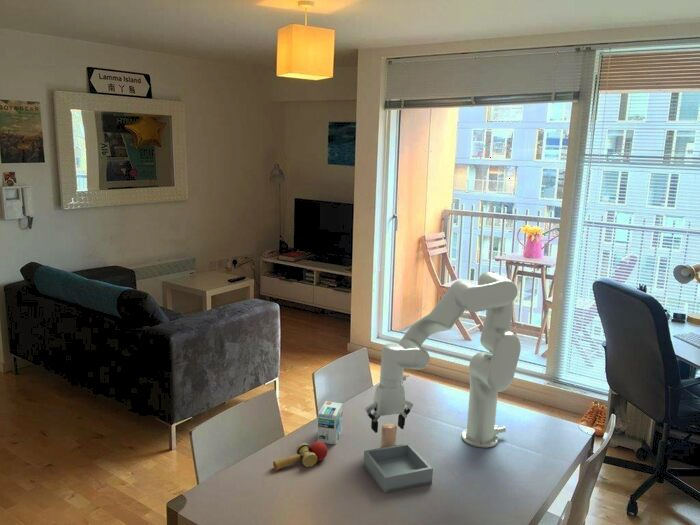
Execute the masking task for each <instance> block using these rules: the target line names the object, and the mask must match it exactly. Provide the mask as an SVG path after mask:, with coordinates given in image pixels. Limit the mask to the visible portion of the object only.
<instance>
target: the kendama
mask: <svg viewBox="0 0 700 525" xmlns="http://www.w3.org/2000/svg"><path fill="white" fill-rule="evenodd" d="M295 450H296V454H293V455H291V456H286V457H283V458H280V459H276V460H273V462H272V463H273V468H274V470H275V469H276V470H277V471H278V470H281V469H284V468H286V467H287V466H289V465H292V464H294V463H297V462H298V461H300V460H301V462H302V464H303V466H305V467H306V468H310V467H309V466H311V467H313V466H315V464H317V462H318V461H319V462H320V461H323V460H324V459H325V458H326V457H327V455H328V446H327V445H326V443H323V442H320V441H318V440H317V441H314V442H312V443H311V444H310V445H309V444H308V443H306V442H303V443H300V444H299V445H298V446H297V447H296V449H295ZM276 470H275V471H276Z"/></svg>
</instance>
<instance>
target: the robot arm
mask: <svg viewBox="0 0 700 525" xmlns="http://www.w3.org/2000/svg"><path fill="white" fill-rule="evenodd" d="M517 296H518V288H517V285H516V283H515V282H513V281H512V280H511V279H509V278H507V277H505V276H502V275H500V274H497V273H495V272H491V271H484V272H483V273H481V274H480V276H479V277H478V280H477V285H475V284H473V283H472V282H469V281H466V280H457V281H454V282H453V283H452V284H451V285H450V286H449V288H448V289H447V291H446V292H445V293H444V294H443V296H442V297H441V299H440V300H439V301H438V302H437V304H436V305H435V306H434V308H433V309H432V310H431V311H430V313H429V314H427V315H425V316H424V317H422V318H420V319H419V320H418V321H417V322H414V324H412V325H411V326H410V328H409V329H408V330H407V331H406V332H405V334H404V335H403V337H402V338H401V339H400V341H399V343H398V344H397V343H387V344H385V345H383V346H382V348H381V358H380V372H379V373H380V375H379V383H377V384H376V387H375V391H374V397H373V403H371V404H370V405H368V406H366V407H365V408H364V410H365V413H366V415H367V416H368V418H370V420H371V422H370V423H371V425H370V427H371V430H372V431H373V432H374V433H375V434H377V433H378V432H379V421H378V420H379V419H380V417H384V416H392V415H398V418H397V426H398V427H399V428H400V430H405V429H404V428H405V424H406V423H405V422H406V418H407V416H408V415H409V414H410V412H411V410H412V408H413V406H414V403H412V402H411V401H409V400H407V399H406V392H405V385H404V381H406V380H407V377H406V376H404V369H410V370H423V369H425V368H426V367H427V366H428V365H429V363H430V361H431V358H430V354H429V352H428V351H427V350H426V349H425V348H424V347H423V346H422V345H423V343H425V342H426V340H427V339H428V338H429V337H430V336H433V335H434V334H435V333H440V332H446V331H448V330H449V331H450V330H451V329H453V327H454V325H455V324H456V322H458V320H459V319H460V318H461V316H462V314H463V313H464V312H465V311H467V312H470V313H477V312H483V311H486V314H485V319H484V322H483V327H482V330H481V334H480V339H479V340H480V344H481V346H482V347H483V348H484V349H485V350H487V351H488V352H489V353H488V352H483V351H482V352H477V353H476V354H474V355H473V356H472V357H471V359H470V360H469V366H468V373H469V397H468V408H467V420H466V421H467V423H466V429H464V430H463V431H462V432H461V439H462V440H463V441H464V443H466V444H468V445H470V446H472V447H476V448H477V447H478V448H492V447H495V446H496V445H497V444H498V443H499V437H498V435H499V434H502V433H506V432H507V431H506V430H507V429H506V427H505V426H500V427H499V425H497V424H496V418H497V417H496V416H497V403H498V394H499V393H500V392H504V391H505V390H507V389H508V388H509V387H510V385H511V384H512V382H513V380H514V376H515V373H516V371H517V370H516V369H517V366H518V362H519V359H520V356H521V341H520V339H519V338H518V336H517V335H516V334H515V333H514V332H512V331H510V329H511V324H512V319H513V313H514V306H513V302H514V301H515V300H516V297H517ZM490 353H491V354H490ZM372 411H373V412H372Z"/></svg>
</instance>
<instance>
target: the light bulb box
mask: <svg viewBox="0 0 700 525" xmlns="http://www.w3.org/2000/svg"><path fill="white" fill-rule="evenodd" d="M343 407H344V403H342V402H341V403H340V402H332V401H327V400H326V401H324V403H323V404H322V405H321V408H320V409H319V411H318V414H317V417H318V418H317V441H320V442H323V443H324V444H329V445H336V444H337V443H338V441H339V438H340V436H341V434H342V432H343V413H344V412H343V409H344V408H343Z"/></svg>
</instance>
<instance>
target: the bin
mask: <svg viewBox="0 0 700 525" xmlns="http://www.w3.org/2000/svg"><path fill="white" fill-rule="evenodd" d="M363 466H364V468H365V469H366V471H367V472H368V473H369V475H370V476H371V477H372V479H373V480H374V482H376V484H377V485H378V487H379V488H380V490H382V492H383V493H384V494H387V493H392V492H396V491H401V490H407V489H411V488H415V487H422V486H426V485H431V484H433V476H434V468H433V466H432V465H431V464H429V462H427V461H426V459H424V457H423V455H421V454H420V453H419V452H418V451H417V450H416V449H415V448H414V447H413V445H411V444H410V443H403V444H402V443H401V444H398V445H397V444H396V446H390V447H384V448H381V447H380V448H374V449H367V450H364V451H363Z"/></svg>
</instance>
